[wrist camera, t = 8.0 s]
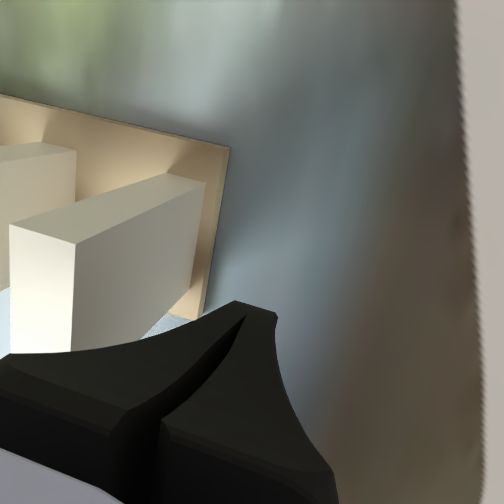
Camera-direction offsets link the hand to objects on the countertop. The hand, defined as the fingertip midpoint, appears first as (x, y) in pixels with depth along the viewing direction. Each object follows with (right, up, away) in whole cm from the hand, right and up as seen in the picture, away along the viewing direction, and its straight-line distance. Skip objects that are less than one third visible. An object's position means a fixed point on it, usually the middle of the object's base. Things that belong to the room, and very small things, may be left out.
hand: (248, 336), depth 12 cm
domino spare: (-3, +3, +6) cm, 8 cm away
